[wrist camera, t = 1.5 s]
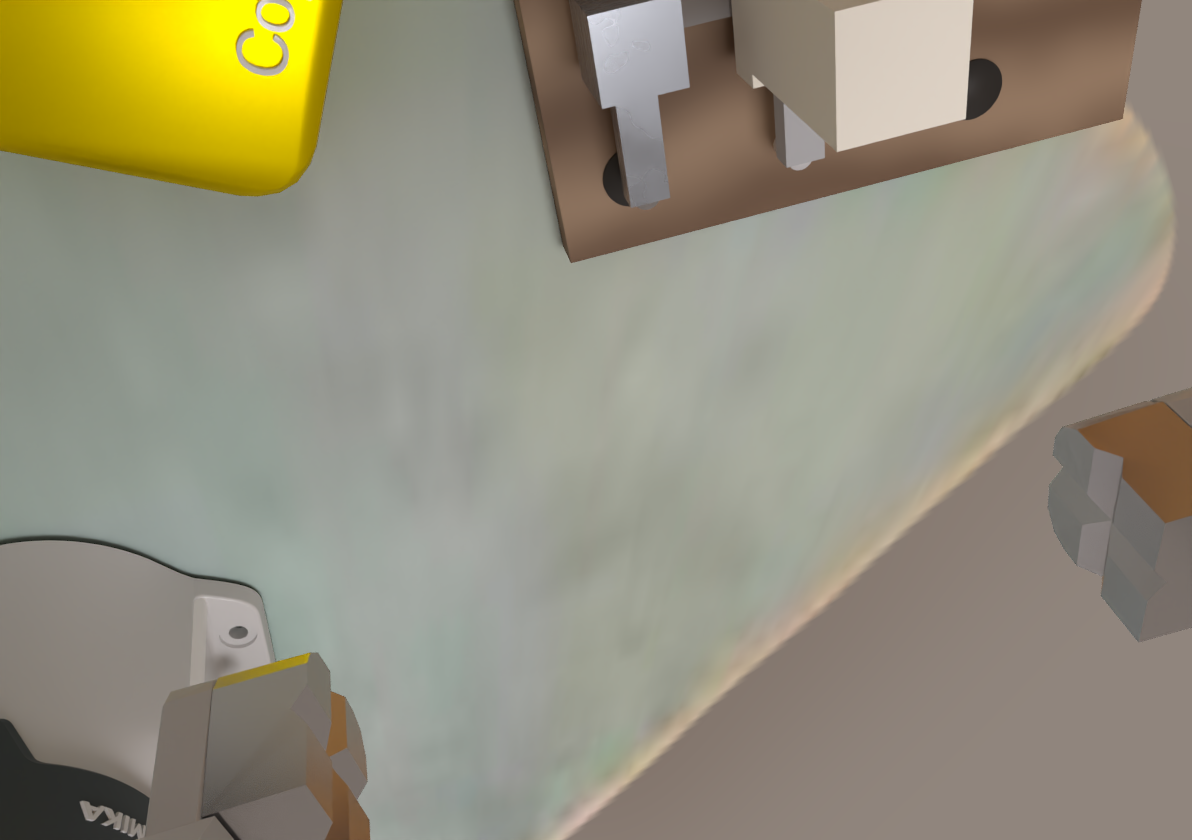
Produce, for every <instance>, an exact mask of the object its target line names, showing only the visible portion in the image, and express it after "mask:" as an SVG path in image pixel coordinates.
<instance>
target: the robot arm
mask: <svg viewBox="0 0 1192 840" xmlns="http://www.w3.org/2000/svg"><path fill="white" fill-rule="evenodd" d="M1053 456H1054V457H1055V458H1056V459H1057V460H1058V461H1059V463H1060V464H1061V465H1062V466H1063V468H1062V469H1061V471H1060V472H1059V473H1058V475H1057V476H1056V477H1055V478H1054V479H1053V481H1052V482H1051V483H1050V485H1049V496H1048V510H1049V514H1050V518H1051V521H1052V525H1053V529H1054V532H1055V534H1056V535H1057V537H1058V539H1059V541H1060V543H1061V544H1062V547H1063V548H1064V550H1065V551H1066V552H1067V554H1068V555H1069V556H1070V557H1071V559H1072V560H1073V561H1074V563H1075V564H1076V565H1077V566H1079V567H1081V568H1084V569H1086V570H1088V571H1091V572H1093V573H1095V574H1098V575H1100V576H1102V588H1101V597H1102V598H1103V599H1104V600H1105V601H1106V603H1107V604H1108V605H1109V606H1110V608H1111V609H1112V610H1113V612H1114V613H1115V614H1116V615H1117V616H1118V618H1119V619H1120V620H1121V621H1122V623H1123V624H1124V625H1125V626H1126V627H1127V629H1128V630H1129V631H1130V632H1131V634H1132V635H1133V636H1134V637H1135V639H1136V640H1137V641H1138V642H1142V641H1146V640H1149V639H1153V638H1156V637H1160V636H1163V635H1167V634H1171V633H1174V632H1178V631H1181V630H1185V629H1188V628H1192V387H1191V388H1188V389H1185V390H1181V391H1178V392H1175V393H1171V394H1168V395H1165V396H1162V397H1158V398H1155V399H1152V400H1150V401H1144V402H1141V403H1137V404H1134V405H1131V406H1128V407H1125V408H1122V409H1118V410H1115V411H1112V412H1109V413H1106V414H1102V415H1099V416H1096V417H1092V418H1090V419H1086V420H1083V421H1080V422H1076V423H1074V424H1070V425H1067V426H1064V427H1062V428H1061V429H1060V431H1059V432H1058V434H1057V435H1056V437H1055V443H1054V450H1053ZM236 626H242V627H241V628H236ZM367 782H368V781H367V765H366V755H365V750H364V745H363V740H362V735H361V731H360V728H359V725H358V722H357V720H356V717H355V715H354V712H353V710H352V708H351V706H350V705H349V703H348V701H347V699H346V697H344V696H342V695H339V694H337V693H334V692H331V684H330V670H329V669H328V667H327V666H326V664H325V663H324V661H323V660H322V658H321V657H320V655H319V654H318V653H307V654H304V655H300V656H296V657H292V658H289V659H285V660H281V661H278V662H276V660H275V655H274V651H273V646H272V642H271V637H270V633H269V628H268V624H267V619H266V615H265V610H264V605H263V601H262V599H261V597H260V595H259V594H258V593H257V592H256V591H254V590H253V589H251V588H249V587H246V586H243V585H238V584H234V583H228V582H222V581H214V580H206V579H197V578H192V577H189V576H186V575H183V574H181V573H178V572H176V571H173V570H171V569H169V568H167V567H165V566H163V565H160V564H158V563H156V562H154V561H152V560H149V559H147V558H144V557H142V556H139V555H136V554H133V553H130V552H127V551H123V550H120V549H116V548H112V547H107V546H103V545H97V544H91V543H84V542H74V541H51V540H46V541H27V542H17V543H10V544H4V545H0V840H370V822H369V819H368V817H367V815H366V814H365V812H364V811H363V809H362V807H361V806H360V804H359V803H358V801H357V799H358V797H359V795H360V794H361V792H362V790H363V789H364V787H365V785H366V783H367Z"/></svg>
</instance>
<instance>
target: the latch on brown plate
mask: <svg viewBox="0 0 1192 840" xmlns="http://www.w3.org/2000/svg"><path fill="white" fill-rule="evenodd" d="M1141 1H1142V0H973V15H972V31H971V46H970V61H969V77H968V92H967V107H966V119H963V120H960V121H956V122H952V123H948V124H944V125H940V126H936V127H932V128H929V129H925V130H921V131H917V132H913V133H909V134H905V135H901V136H898V137H894V138H890V139H886V140H882V141H878V142H874V143H870V144H867V145H863V146H859V147H855V148H851V149H847V150H843V151H839V152H836V151H835V150H834V149H833V148H832V147H831V146H830V145H829V144H828V143H826V142H825V158H823V159H819V160H815V161H812V162H811V163H810V165H809V166H808V167H806V168H805V169H803V170H793V169H792V168H791V167H788V168H786V167H785V166H784V165H783V164H782V162H781V161H780V160H779V159H778V158H777V153H776V152H775V150H774V147H773V143H774V140H775V138H776V135H775V116H774V97H773V93H772V92H771V91H770V90H769V89H768V88H767V87H765V86H762V87H758V88H754V89H753V88H752V87H751V86H750V85H749V84H748V83H747V82H746V81H745V80H744V79H743V78H741V77H740V76H739V75H738V74H737V71H736V58H735V44H734V31H733V18H732V4H731V0H681V7H682V17H683V26H684V36H685V45H686V55H687V65H688V74H689V84H690V87H689V88H685V89H681V90H677V91H673V92H669V93H665V94H661V95H658V103H659V111H660V119H661V127H662V135H663V143H664V151H665V159H666V167H667V175H668V183H669V191H670V198H668V199H664V200H660V201H659V202H658V203H657V205H656V206H655V207H653V208H651V209H648V210H642V209H640V208H638V207H633V208H631V207H630V205H629V204H628V202H627V201H626V199H625V197H624V193H623V186H622V180H621V173H620V167H619V160H618V154H617V147H616V141H615V134H614V128H613V121H612V115H611V109H610V107H609V108H605V109H602V108H601V107H600V105H599V104H598V102H597V101H596V99H595V98H594V96H593V95H592V94H591V92H590V91H589V89H588V88H587V86H586V85H585V83H584V82H583V80H582V77H581V72H580V66H579V60H578V54H577V48H576V42H575V36H574V30H573V24H572V18H571V12H570V7H569V1H568V0H514V3H515V8H516V13H517V18H518V23H519V28H520V33H521V38H522V43H523V48H524V53H525V58H526V63H527V68H528V73H529V78H530V83H531V88H532V93H533V98H534V103H535V108H536V113H537V118H538V123H539V128H540V133H541V138H542V143H543V148H544V153H545V158H546V163H547V168H548V173H549V178H550V183H551V188H552V193H553V198H554V202H555V207H556V212H557V217H558V222H559V227H560V232H561V237H562V242H563V247H564V249H565V251H566V253H567V255H568V258H569V260H570V262H571V263H573V262H577V261H581V260H585V259H589V258H592V257H596V256H600V255H604V254H608V253H612V252H615V251H619V250H623V249H627V248H631V247H635V246H638V245H642V244H646V243H650V242H654V241H657V240H661V239H665V238H669V237H673V236H677V235H680V234H684V233H688V232H692V231H696V230H700V229H703V228H707V227H711V226H715V225H719V224H723V223H726V222H730V221H734V220H738V219H742V218H745V217H749V216H753V215H757V214H761V213H765V212H768V211H772V210H776V209H780V208H784V207H788V206H791V205H795V204H799V203H803V202H807V201H810V200H814V199H818V198H822V197H826V196H830V195H833V194H837V193H841V192H845V191H849V190H853V189H856V188H860V187H864V186H868V185H872V184H875V183H879V182H883V181H887V180H891V179H895V178H898V177H902V176H906V175H910V174H914V173H918V172H921V171H925V170H929V169H933V168H937V167H940V166H944V165H948V164H952V163H956V162H960V161H963V160H967V159H971V158H975V157H979V156H983V155H986V154H990V153H994V152H998V151H1002V150H1006V149H1009V148H1013V147H1017V146H1021V145H1025V144H1028V143H1032V142H1036V141H1040V140H1044V139H1048V138H1051V137H1055V136H1059V135H1063V134H1067V133H1071V132H1074V131H1078V130H1082V129H1086V128H1090V127H1093V126H1097V125H1101V124H1105V123H1109V122H1113V121H1116V120H1120V119H1123V113H1124V107H1125V101H1126V94H1127V88H1128V82H1129V76H1130V70H1131V64H1132V57H1133V51H1134V45H1135V38H1136V33H1137V27H1138V20H1139V14H1140V8H1141Z"/></svg>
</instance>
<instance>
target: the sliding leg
mask: <svg viewBox="0 0 1192 840" xmlns="http://www.w3.org/2000/svg"><path fill="white" fill-rule="evenodd" d="M731 4H732V18H733V31H734V44H735V58H736V71H737V74H738V75H739V76H740V77H741V78H743V79H744V80H745V81H746V82H747V83H748V84H749V85H750V86H751V87H752V88H753V89H754V88H758V87H762V86H765V87H767V88H768V89H769V90H770V91H771V92H772V93H773V97H774V116H775V135H776V138H775V140H774V143H773V147H774V150H775V152H776V153H777V158H778V159H779V160H780V161H781V162H782V164H783V165H784V166H785V167H786V168H788V167H791V168H792V169H793V170H803V169H805V168H806V167H808V166H809V165H810V163H811V162H812V161H815V160H819V159H823V158H825V142H826V143H828V144H829V145H830V146H831V147H832V148H833V149H834V150H835V151H836V152H839V151H843V150H847V149H851V148H855V147H859V146H863V145H867V144H870V143H874V142H878V141H882V140H886V139H890V138H894V137H898V136H901V135H905V134H909V133H913V132H917V131H921V130H925V129H929V128H932V127H936V126H940V125H944V124H948V123H952V122H956V121H960V120H963V119H966V107H967V92H968V77H969V61H970V46H971V31H972V15H973V0H731Z"/></svg>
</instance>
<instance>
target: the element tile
mask: <svg viewBox="0 0 1192 840" xmlns="http://www.w3.org/2000/svg"><path fill="white" fill-rule="evenodd" d="M342 4H343V0H0V151H6V152H11V153H16V154H22V155H27V156H32V157H37V158H43V159H48V160H53V161H59V162H64V163H69V164H75V165H80V166H85V167H90V168H96V169H101V170H106V171H112V172H117V173H122V174H127V175H133V176H138V177H143V178H149V179H154V180H159V181H164V182H170V183H175V184H180V185H186V186H191V187H196V188H202V189H207V190H212V191H217V192H223V193H228V194H233V195H239V196H263V195H268V194H274V193H280V192H282V191H283V190H285V189H287V188H288V187H290V186H291V185H293V184H295V183H296V182H298V180H299V179H300V178H301V176H302V175H303V173H304V172H305V171H306V169H307V168H308V166H309V165H310V164H311V161H312V158H313V155H314V152H315V149H316V147H317V142H318V136H319V131H320V125H321V120H322V114H323V109H324V103H325V98H326V92H327V86H328V81H329V75H330V70H331V64H332V59H333V53H334V48H335V42H336V37H337V31H338V26H339V20H340V15H341V9H342Z"/></svg>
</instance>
